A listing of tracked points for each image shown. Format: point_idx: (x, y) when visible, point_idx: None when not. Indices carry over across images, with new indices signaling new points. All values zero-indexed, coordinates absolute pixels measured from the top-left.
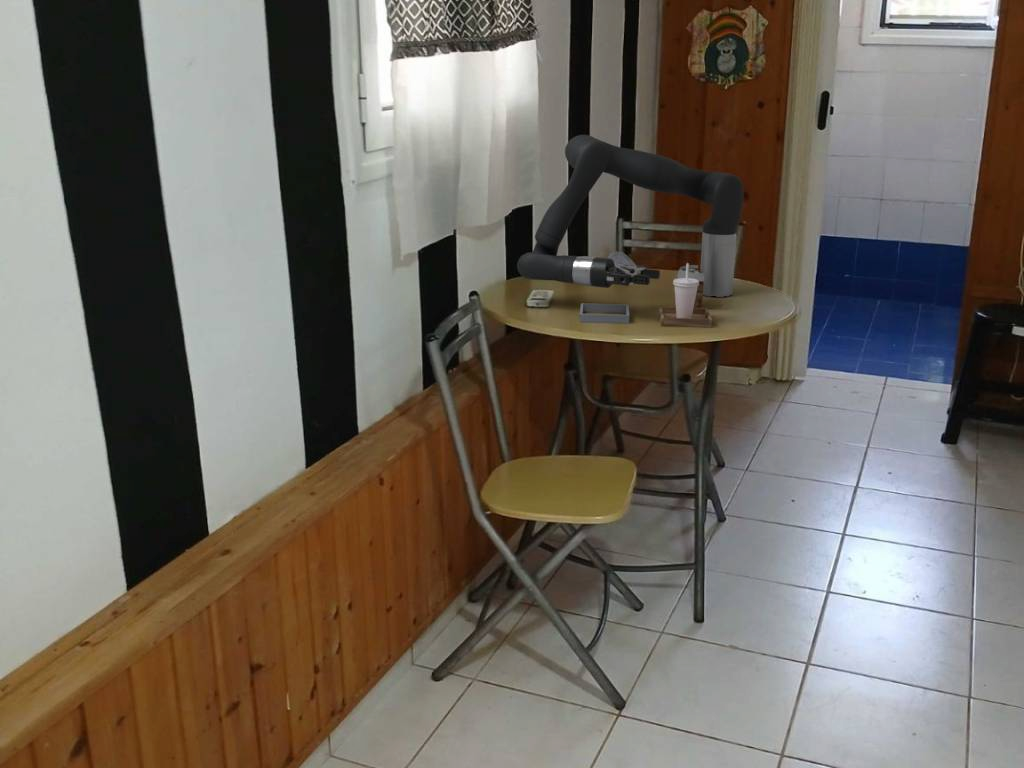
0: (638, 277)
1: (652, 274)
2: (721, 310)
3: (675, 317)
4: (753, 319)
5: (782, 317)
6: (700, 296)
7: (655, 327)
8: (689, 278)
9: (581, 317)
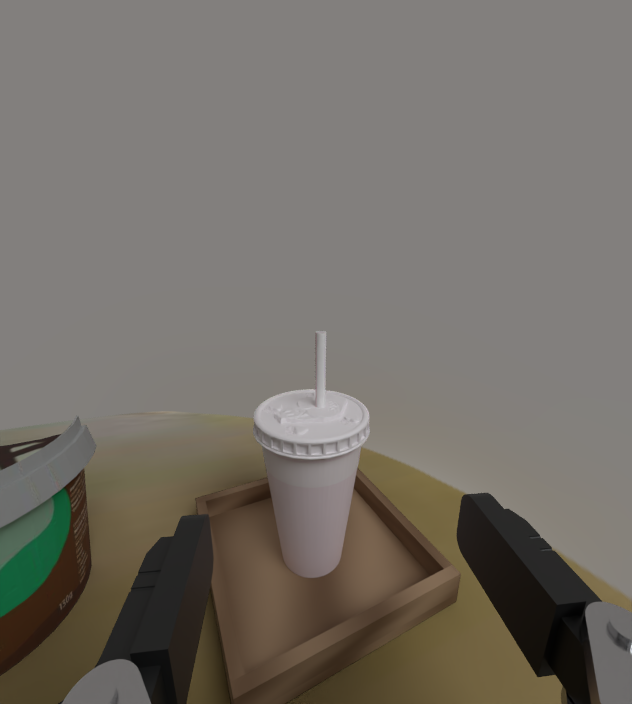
0: (563, 563)
1: (197, 593)
2: (95, 510)
3: (312, 585)
4: (208, 438)
5: (173, 413)
6: (85, 519)
7: (496, 615)
8: (258, 413)
9: None
